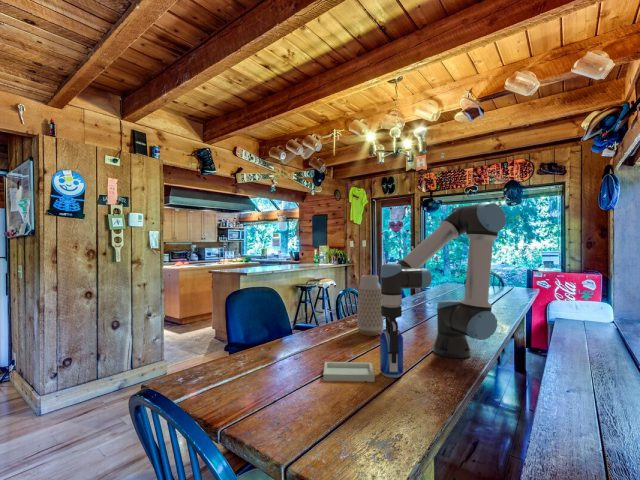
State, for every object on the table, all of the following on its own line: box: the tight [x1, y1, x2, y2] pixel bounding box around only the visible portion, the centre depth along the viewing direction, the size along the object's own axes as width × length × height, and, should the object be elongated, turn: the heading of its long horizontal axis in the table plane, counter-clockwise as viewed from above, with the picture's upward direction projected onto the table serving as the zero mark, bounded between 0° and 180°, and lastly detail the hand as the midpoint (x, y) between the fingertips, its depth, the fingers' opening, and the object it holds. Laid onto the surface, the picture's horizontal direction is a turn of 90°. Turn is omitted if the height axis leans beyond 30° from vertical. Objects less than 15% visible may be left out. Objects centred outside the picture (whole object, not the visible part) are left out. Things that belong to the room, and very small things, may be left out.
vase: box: [356, 274, 384, 337], centre depth 178 cm, size 14×14×31 cm
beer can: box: [379, 328, 404, 379], centre depth 124 cm, size 8×8×16 cm
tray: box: [322, 361, 376, 383], centre depth 124 cm, size 18×12×2 cm, turn 87°
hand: (391, 366), depth 124 cm, fingers closed on beer can, 8 cm apart
